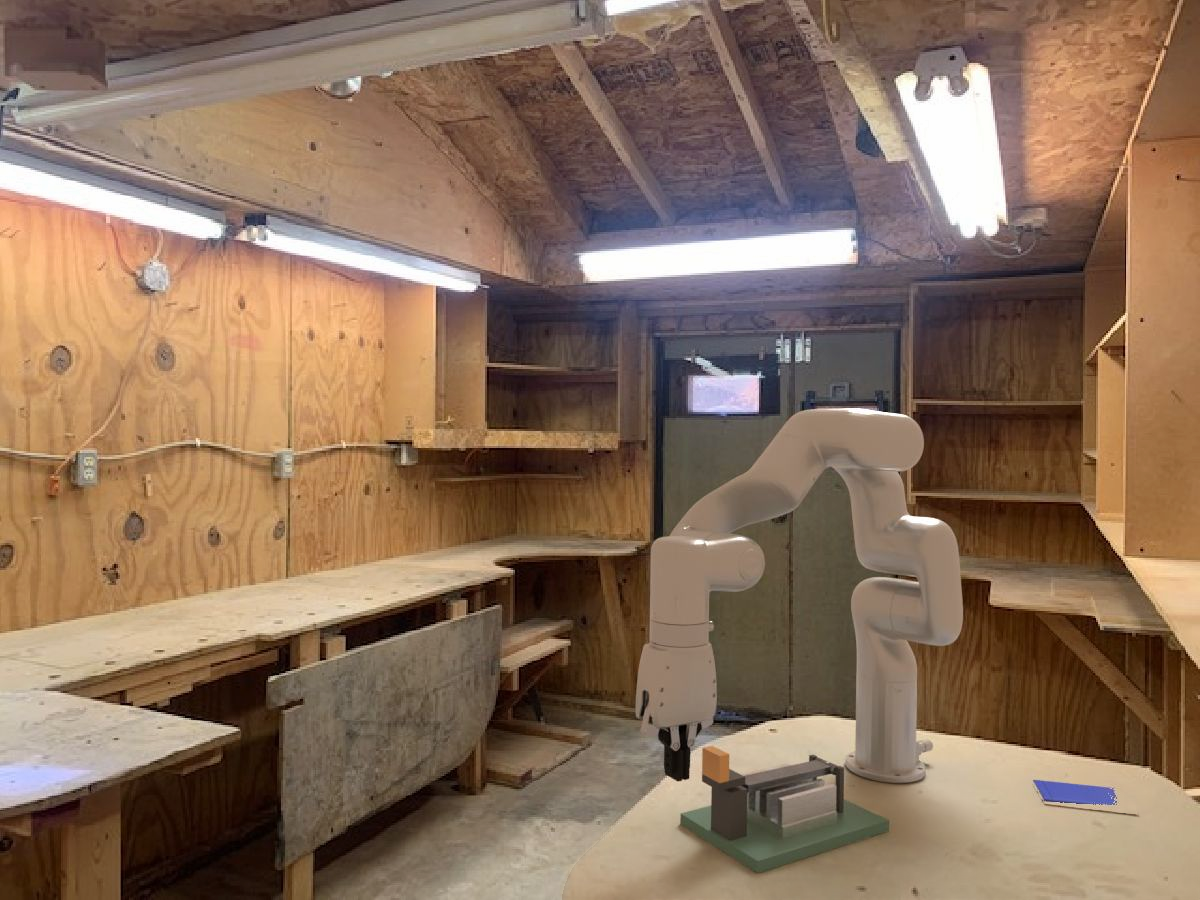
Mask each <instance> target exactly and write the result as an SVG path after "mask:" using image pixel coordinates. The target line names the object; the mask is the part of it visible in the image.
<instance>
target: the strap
mask: <svg viewBox="0 0 1200 900" xmlns="http://www.w3.org/2000/svg"><path fill="white" fill-rule="evenodd" d="M790 765H791V766H786V767H782V768H777V769H772V770H768V771H763V772H759V773H754V774H749V775H745V785H741V786H742V787H744V788H746V789H747V793H750V792H755V791H759V790H763V789H768V788H772V787H776V786H781V785H785V784H789V783H794V782H798V781H802V780H807V779H811V778H815V777H817V778H819V777H823V776H828V775H833V776H836V767H837V766H838V765H837V764H835V763H832V762H830V761H828V760H826V759H823V758H821V757H818V756H817V758H815V760H814V761H809V760H808V761H806V762H800V763H796V764H790Z"/></svg>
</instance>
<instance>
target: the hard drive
mask: <svg viewBox="0 0 1200 900" xmlns="http://www.w3.org/2000/svg"><path fill="white" fill-rule="evenodd" d="M1033 783H1034V785H1035V786H1036V788H1037V790H1039V793H1040V795H1041V797H1042V799H1043V801H1044V802H1045V801H1046V802H1060V803H1063V802H1064V803H1076V804H1093V805H1094V804H1095V805H1096V804H1099V805H1100V804H1101V805H1103V804H1105V805H1106V804H1107V805H1112V804H1113V805H1115V803H1117V801H1115V800H1114V798H1115V797H1116V795H1115V793H1114V791H1115V790H1113V789H1114V788H1115V787H1108V786H1099V785H1098V786H1097V785H1090V784H1080V783H1079V784H1078V783H1070V782H1062V781H1049V780H1040V779H1033V780H1032V784H1033ZM1110 788H1112V789H1110ZM1108 793H1109V794H1108ZM1110 795H1111V796H1110ZM1112 796H1113V797H1112ZM1111 797H1112V799H1111ZM1116 799H1117V797H1116ZM1114 801H1115V803H1113V802H1114ZM1116 805H1117V804H1116Z"/></svg>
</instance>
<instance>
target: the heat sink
mask: <svg viewBox="0 0 1200 900" xmlns="http://www.w3.org/2000/svg"><path fill="white" fill-rule="evenodd" d="M791 765H792V764H789V763H783V764H779V765H775V766H771V767H767V768H763V769H758V770H754V771H750V772H746V773H740V774H741V775H743V776H745V775H749V774H754V773H759V772H763V771H768V770H772V769H777V768H782V767H786V766H791ZM825 783H826V780H825V779H822V778H817V780H813V778H811V779H807V780H802V781H798V782H794V783H789V784H785V785H781V786H776V787H772V788H768V789H763V790H759V791H755V792H750V793H747V819H748V820H750V821H752V822H754V823H755V824H757V825H759V826H761V827H763V828H764V829H766V830H768V831H770V832H771V833H773V834H775V835H777V836H779V837H780V838H782V839H784V838H788V837H791V836H794V835H798V834H801V833H804V832H808V831H811V830H814V829H818V828H821V827H824V826H828V825H831V824H834V823H837V811H836V784H833V783H830V784H827V785H825Z"/></svg>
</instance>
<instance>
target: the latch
mask: <svg viewBox="0 0 1200 900" xmlns="http://www.w3.org/2000/svg"><path fill="white" fill-rule="evenodd" d="M701 752H702V756H701V757H702V759H701V760H702V761H701V763H702V765H701V767H702V768H701V782H702V783H704V784H706V786H709V787H711V788H712V787H713V788H715V789H717V790H719V791H721V790H725V789H729V788H733V787H737V786H741V785H745V776H743V775H741V774H742V773H739V772H737V771H735V770H732V769H730V753H728V752H726V751H724V750H722V749H719V748H717V747H716V746H713V745H709V746H705V747H702V751H701Z"/></svg>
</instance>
